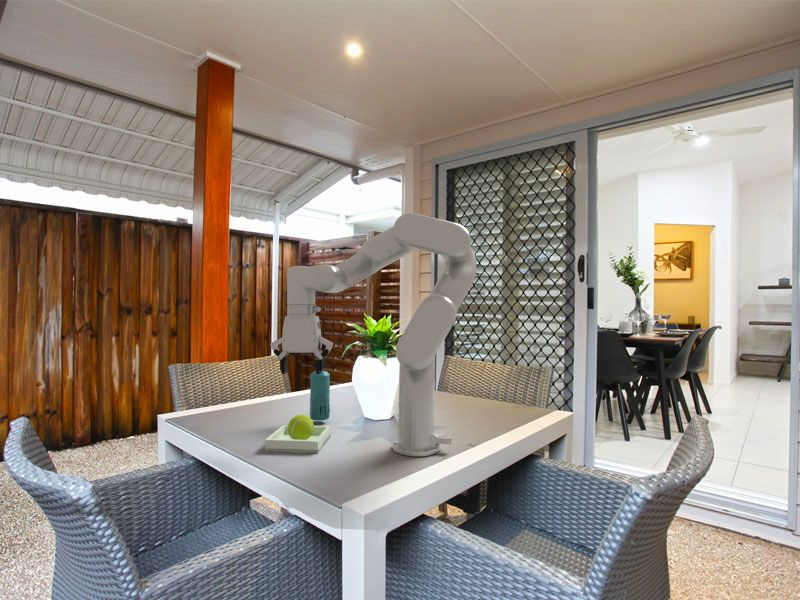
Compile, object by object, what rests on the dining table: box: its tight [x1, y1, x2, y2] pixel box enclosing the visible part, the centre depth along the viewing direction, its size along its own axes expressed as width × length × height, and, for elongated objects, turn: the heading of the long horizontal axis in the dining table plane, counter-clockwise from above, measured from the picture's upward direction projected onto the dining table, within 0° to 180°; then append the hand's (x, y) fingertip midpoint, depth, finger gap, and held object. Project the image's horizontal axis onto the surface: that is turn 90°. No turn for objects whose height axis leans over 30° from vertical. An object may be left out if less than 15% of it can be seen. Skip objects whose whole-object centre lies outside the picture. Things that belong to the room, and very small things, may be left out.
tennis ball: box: [287, 414, 315, 440], centre depth 117 cm, size 7×7×7 cm
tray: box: [264, 424, 332, 454], centre depth 118 cm, size 14×14×3 cm
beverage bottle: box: [309, 360, 331, 422], centre depth 139 cm, size 6×7×20 cm
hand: (301, 373), depth 118 cm, fingers open, 9 cm apart
